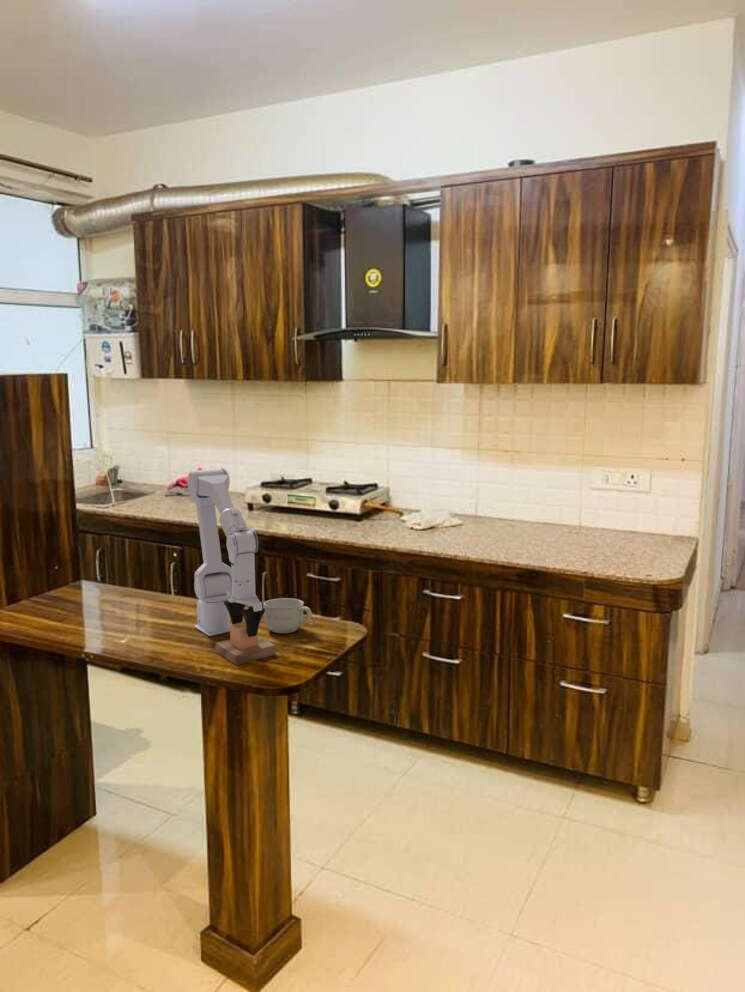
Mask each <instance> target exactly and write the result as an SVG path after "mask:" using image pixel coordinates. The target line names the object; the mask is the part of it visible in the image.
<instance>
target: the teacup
mask: <svg viewBox="0 0 745 992" xmlns="http://www.w3.org/2000/svg"><path fill="white" fill-rule="evenodd" d="M304 605H305V604H304V601H303V600H301V599H298V598H293V597H292V598H291V597H290V598H287V597H282V598H274V599H272V598H271V599H269V600H266V601H264V602H263V608H265V612H264V614H263V616H264V625H265V626H266V627H267V628H268V629H269V630H270V631H271V632H273V633H275V634H290V633H294V632H296V631H297V630H298V629H299V628H300V627H303V625H304V624H306V623H307V622H309V621H310V620H311V618H312V616H313V614H312V610H311V608H310V607H308V606H306V605H305V606H304ZM304 611H305V612H306V615H307V616H306V617H305V619H304Z"/></svg>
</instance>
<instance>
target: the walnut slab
mask: <svg viewBox="0 0 745 992" xmlns="http://www.w3.org/2000/svg"><path fill="white" fill-rule="evenodd" d="M276 646H277V645H276V644H274V643H272V642H270V641H268V640H267V639H266V638H263V637H261V636H260V635H258V645H256V646H253V647H249V648H245V649H241V650H240V649H238V648H237V647H235V646H233V645H231V643H230V638H229V639H225V640H221V641H217V642H215V645H214V647H215V653H216V652H217V653H216V654H218V655H220V656H221V657H223V658H225V660H228V661H229V662H231V663H233V664H234V665H235V666H238V665H239V666H240V665H243V664H247V663H250V662H253V661H256V660H257V659H258V660H261V659H265V658H268V657H271V656H275V655H277V647H276Z"/></svg>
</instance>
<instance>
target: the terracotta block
mask: <svg viewBox="0 0 745 992" xmlns="http://www.w3.org/2000/svg"><path fill="white" fill-rule="evenodd" d="M258 636H259V631H258V632H257V635H256V636H253V637H248V634H247V628H246V622H245V620H243V622H240V623H236V624H232V623H231V624H230V632H229V639H230V643H231V645H233V646H235V647H237V648H238V649H240V650H241V649H245V648H249V647H253V646H256V645H258Z"/></svg>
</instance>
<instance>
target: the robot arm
mask: <svg viewBox="0 0 745 992" xmlns="http://www.w3.org/2000/svg"><path fill="white" fill-rule="evenodd" d="M230 481H231V480H230V474H229V472H228V470H227V469H226V468H224V467H221V468H212V469H210V468H209V469H200V470H199V469H197V470H194V469H193V470H191V471H189V473H188V476H187V489H188V490H187V492H188V497H189V501H190V502H191V503H195V506H196V512H197V521H198V528H199V537H200V544H201V552H202V561H203V563H202V564H201V565H200V566H199V567H198V568H197V570H195V571H194V582H193V583H194V584H193V585H194V586H193V587H194V593H195V595H196V597H197V598H198V600H197V604H196V614H197V615H196V617H197V624H195V625H194V628H195V629H197V630H199V631H200V632H201V633H202V634H205V635H207V636H209V637H212V636H217V635H222V634H225V633H230V625H232V624H236V623H240V622H244V621H245V622H246V628H247V634H248V637H253V636H256V635H257V632H258V633H259V627H260V623H261V620H262V618H263V616H264V612H265V608H264V606H263V602H261V601H260V599H259V598H258V596H257V594H256V569H255V568H256V567H255V563H256V562H255V554H256V553H258V550H259V539H258V536H257V535H258V534H257V533H256V531H255V530H254V529H252V528H251V527H249V526H248V525H247V523H246V521H245V519H244V517H243V515H242V512H241V511H240V510H239V509H238V508H234V504H233V502H232V500H231V495H230V493H229V488H230ZM216 509H217V510H218V512H219V514H220V515H219V516H218V519H217V512H216ZM217 520H218V521H219V524H220V526H221V528H222V530H223V533H224V535H225V536H226V544H225V545H226V549H227V552H228V560H229V562H230V565H231V566H229V565H228V564H226V563H224V562H223V561H222V552H221V544H220V536H219V529H218V528H219V527H218V521H217ZM216 573H217V574H216ZM245 606H246V607H248V608H246V607H245ZM245 608H246V609H245ZM230 622H231V624H230Z"/></svg>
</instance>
